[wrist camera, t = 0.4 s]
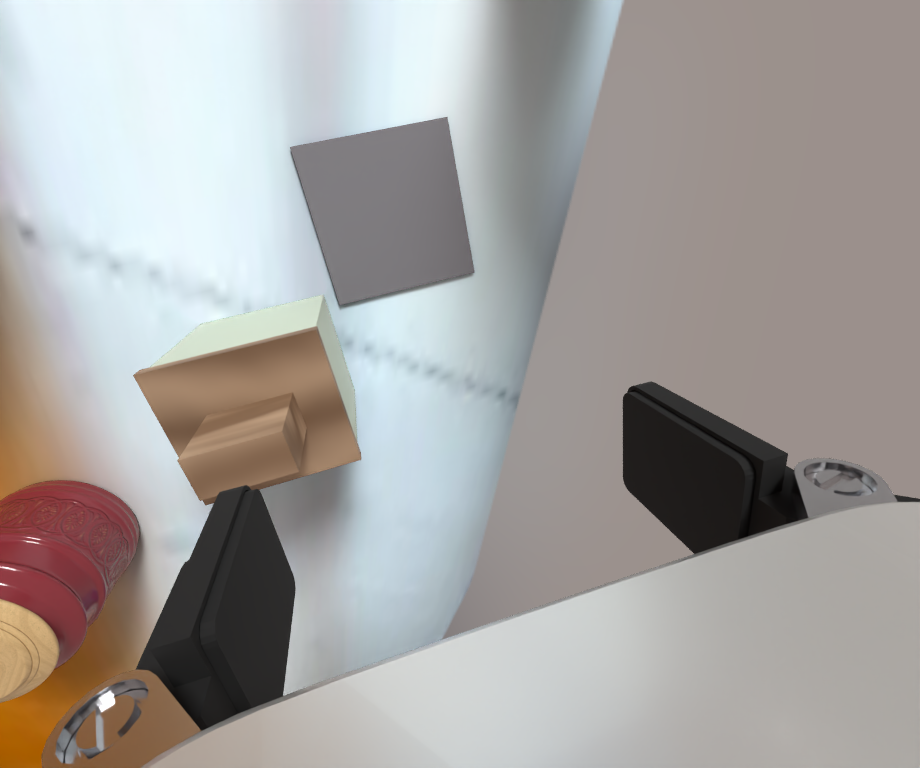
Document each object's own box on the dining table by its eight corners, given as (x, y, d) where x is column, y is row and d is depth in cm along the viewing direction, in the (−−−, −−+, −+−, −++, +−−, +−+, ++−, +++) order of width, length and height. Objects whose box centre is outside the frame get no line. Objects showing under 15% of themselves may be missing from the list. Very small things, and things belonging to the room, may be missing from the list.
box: (200, 323, 41) (144, 372, 30) (323, 294, 43) (315, 329, 31) (244, 419, 46) (210, 494, 34) (354, 390, 48) (357, 451, 36)
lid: (145, 365, 31) (84, 415, 23) (317, 322, 32) (309, 357, 25) (212, 489, 35) (178, 564, 28) (360, 446, 37) (364, 506, 30)
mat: (290, 147, 38) (290, 147, 38) (446, 117, 40) (447, 117, 39) (339, 304, 44) (339, 305, 43) (473, 271, 46) (474, 272, 45)
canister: (94, 595, 49) (-25, 782, 33) (-38, 541, 44) (-255, 733, 28) (170, 519, 48) (84, 674, 32) (44, 453, 43) (-134, 601, 27)
